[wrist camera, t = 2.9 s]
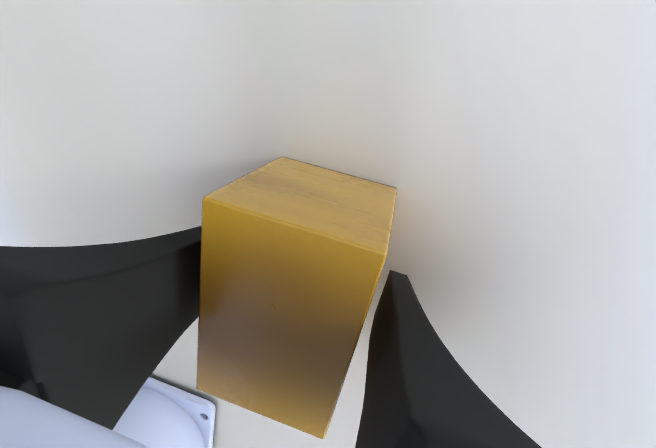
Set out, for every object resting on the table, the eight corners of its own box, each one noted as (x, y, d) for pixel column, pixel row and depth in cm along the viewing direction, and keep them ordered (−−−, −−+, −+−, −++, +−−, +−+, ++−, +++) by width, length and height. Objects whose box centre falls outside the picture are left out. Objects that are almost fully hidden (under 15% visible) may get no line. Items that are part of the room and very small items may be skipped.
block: (351, 330, 14) (324, 441, 10) (260, 299, 15) (195, 389, 10) (397, 187, 11) (387, 253, 7) (281, 155, 12) (201, 196, 7)
